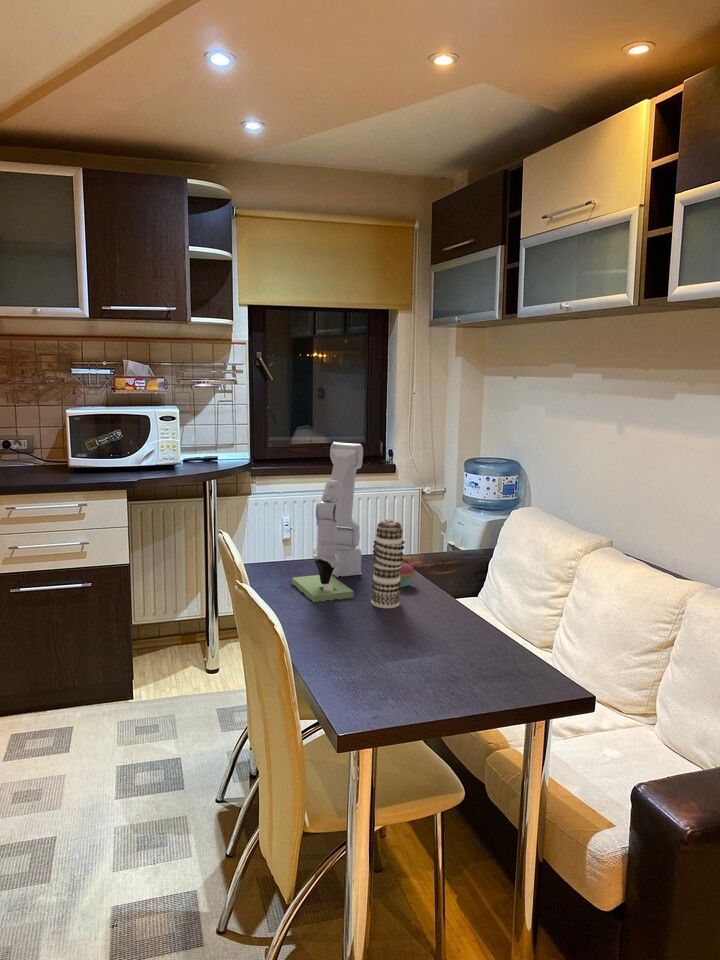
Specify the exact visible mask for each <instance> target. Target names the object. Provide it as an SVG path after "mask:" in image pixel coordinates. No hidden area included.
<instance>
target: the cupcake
mask: <svg viewBox="0 0 720 960" xmlns="http://www.w3.org/2000/svg"><path fill="white" fill-rule="evenodd" d="M400 563H401V564H402V567H401V568H400V582H401V584H400V587H401V588H406V587H408V585H409V582H410V580H411V578H413V577H414V576H415V571H416V570H415V569H414V567H413V566H412V565H411V564H409V563H405V562H402V561H400ZM405 586H406V587H405Z"/></svg>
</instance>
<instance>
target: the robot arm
mask: <svg viewBox="0 0 720 960" xmlns="http://www.w3.org/2000/svg"><path fill="white" fill-rule="evenodd" d="M329 450H330V451H329V457H330V460H331V463H332V464H333V466H332V470H331V477H330V481H327V482H326V483H325V486H324V490H323V493H322V495H321V496H322V497H321V500H320V502H317V504H316V506H315V519H316V522H315V524H316V526H317V538H316V547H315V548H313V555H312V558H314V559H316V560H314V562H315V565H316V568H317V571H318V575H319V576H320V581H321V583H322V584H329V581H330V578H331V575H332V576H334V575H335V576H334V577H335V578H338V577H339V576H341V577H349V576H360V575H363V574H362V572H361V571H362V551H361V549H360V546H358V545H359V543H360V537H361V534H360V533H361V532H360V524H359V523H358V522H357V521H356V520H355V519H353V508H354V507H353V506H354V498H355V497H354V496H355V495H354V494H355V486H356V485H355V483H356V473H357V470H359V469H361V468H362V466H363V459H364V447H363V445H362V443H349V442H347V443H346V442H337V441H333V443H331V446H330V449H329Z"/></svg>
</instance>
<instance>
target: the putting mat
mask: <svg viewBox="0 0 720 960" xmlns="http://www.w3.org/2000/svg"><path fill="white" fill-rule="evenodd" d="M291 585H292V586H294V585H295V586H296V587H297V588H298V589H297V588H296V587H295V586H294V587H295V588H296V589H297V590H299V591H300V593H302V592H303V593H304V594H305V597H307V598H308V600H310V599H311V600H312V601H311V600H310V601H311V602H313V603H320V602H319V601H321V602H327V601H326V600H329V601H335V600H334V599H338V600H344V599H353V598H354V590H353V589H351V588H350V587H349V586H347V585H346V584H344V583H343V582H341V581H340V580H339V579H337V577H336V576H334V575H333V574H332V575H331V578H330V581H329V585H331V586H333V589H334V591H329V592H323V588H324V586H325V585H328V584H322V583H321V581H320V576H319V574H316V575H314V574H313V575H307V576H305V575H304V576H297V577H291ZM303 593H302V594H303Z"/></svg>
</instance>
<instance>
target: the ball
mask: <svg viewBox="0 0 720 960" xmlns="http://www.w3.org/2000/svg"><path fill="white" fill-rule="evenodd" d="M329 591H334V589H333V586H331V585H329V584H328V585H325V586H324V588H323V592H329Z"/></svg>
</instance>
